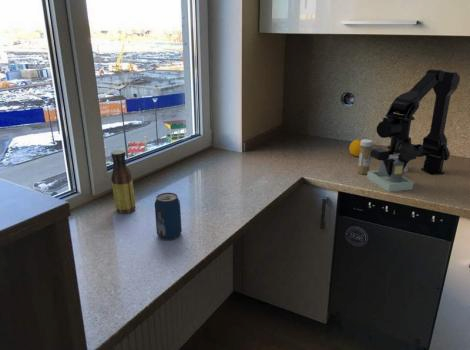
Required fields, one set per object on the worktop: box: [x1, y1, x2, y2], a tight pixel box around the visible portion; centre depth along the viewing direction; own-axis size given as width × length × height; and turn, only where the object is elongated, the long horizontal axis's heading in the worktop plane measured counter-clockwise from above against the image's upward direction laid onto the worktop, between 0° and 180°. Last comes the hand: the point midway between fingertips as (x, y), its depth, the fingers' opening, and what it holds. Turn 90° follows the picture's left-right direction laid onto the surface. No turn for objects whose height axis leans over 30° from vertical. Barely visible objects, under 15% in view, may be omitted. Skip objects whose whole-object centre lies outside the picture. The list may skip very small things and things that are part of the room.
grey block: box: [379, 158, 404, 179], centre depth 148 cm, size 4×8×6 cm, turn 15°
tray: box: [366, 169, 415, 193], centre depth 149 cm, size 10×14×3 cm
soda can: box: [154, 192, 182, 241], centre depth 111 cm, size 7×7×12 cm
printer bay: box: [393, 155, 409, 173], centre depth 163 cm, size 7×6×5 cm
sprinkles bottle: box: [357, 138, 374, 175], centre depth 159 cm, size 5×5×13 cm
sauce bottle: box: [110, 149, 136, 215], centre depth 125 cm, size 6×6×20 cm
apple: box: [348, 139, 362, 157], centre depth 181 cm, size 8×8×8 cm
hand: (394, 174), depth 146 cm, fingers closed on grey block, 4 cm apart
